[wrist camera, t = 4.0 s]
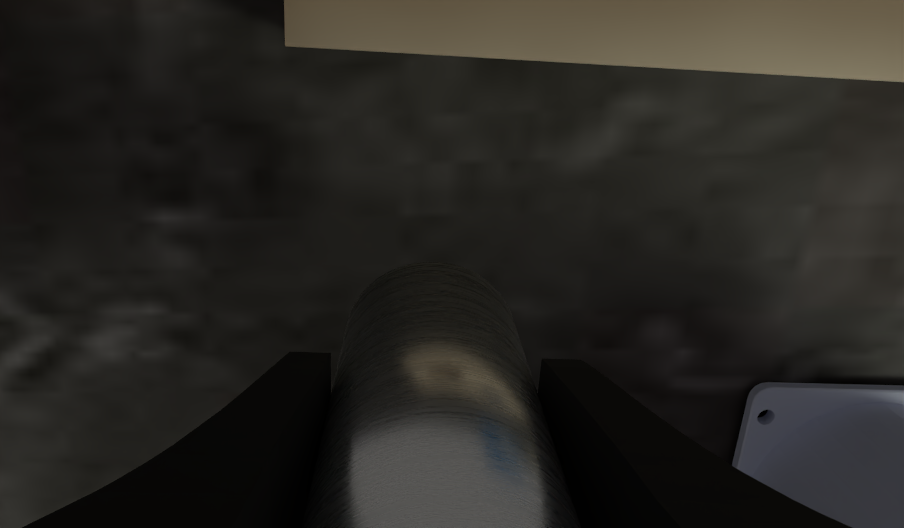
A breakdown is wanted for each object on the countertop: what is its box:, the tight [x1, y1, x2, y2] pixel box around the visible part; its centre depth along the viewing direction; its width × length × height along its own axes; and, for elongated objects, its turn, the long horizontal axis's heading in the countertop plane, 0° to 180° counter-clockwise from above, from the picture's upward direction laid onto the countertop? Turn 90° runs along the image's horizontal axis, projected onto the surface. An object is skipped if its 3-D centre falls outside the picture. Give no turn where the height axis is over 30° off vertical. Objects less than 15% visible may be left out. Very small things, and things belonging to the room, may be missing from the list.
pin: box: [302, 262, 581, 528], centre depth 9 cm, size 3×3×7 cm
